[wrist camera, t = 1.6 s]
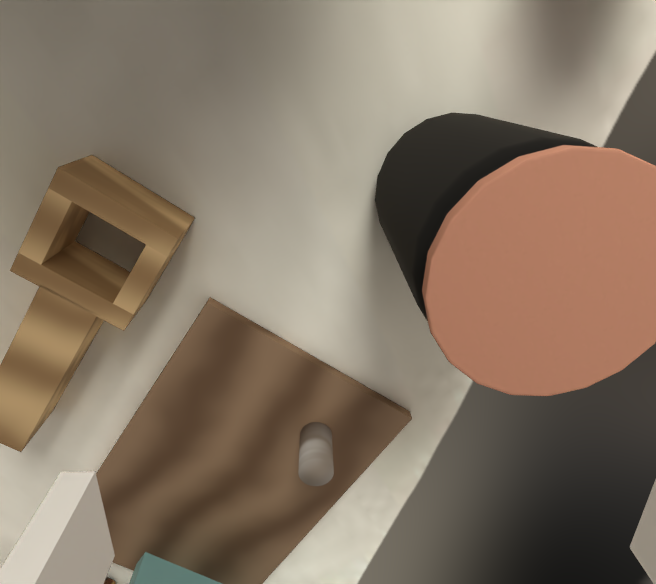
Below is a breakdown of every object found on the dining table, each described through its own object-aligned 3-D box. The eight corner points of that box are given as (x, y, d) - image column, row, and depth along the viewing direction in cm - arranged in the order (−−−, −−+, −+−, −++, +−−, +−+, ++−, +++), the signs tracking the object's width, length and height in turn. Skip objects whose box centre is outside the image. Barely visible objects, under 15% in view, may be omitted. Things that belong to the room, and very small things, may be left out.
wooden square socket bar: (74, 421, 43) (45, 462, 39) (-18, 379, 41) (-59, 417, 37) (195, 217, 36) (178, 238, 32) (92, 155, 34) (57, 167, 30)
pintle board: (59, 530, 48) (30, 583, 43) (209, 297, 39) (194, 330, 34) (237, 602, 53) (230, 657, 48) (409, 411, 44) (422, 455, 39)
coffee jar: (460, 281, 39) (570, 434, 22) (345, 215, 36) (372, 330, 20) (550, 162, 35) (758, 238, 19) (429, 79, 33) (546, 83, 16)
